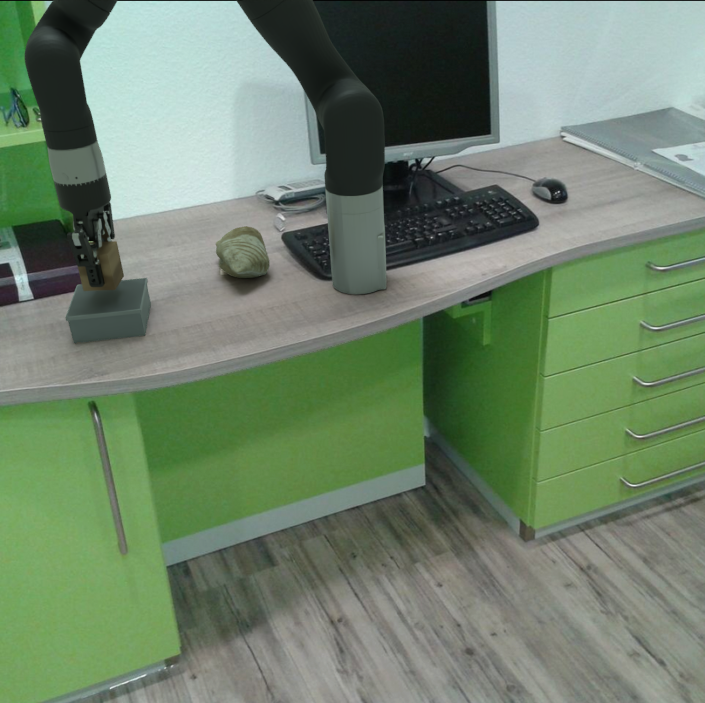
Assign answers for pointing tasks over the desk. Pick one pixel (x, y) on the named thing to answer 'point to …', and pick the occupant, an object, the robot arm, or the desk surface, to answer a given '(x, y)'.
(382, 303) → the desk surface
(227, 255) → the seashell
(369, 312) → the desk surface
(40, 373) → the desk surface
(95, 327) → the grey-green square slab
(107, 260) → the brass block
